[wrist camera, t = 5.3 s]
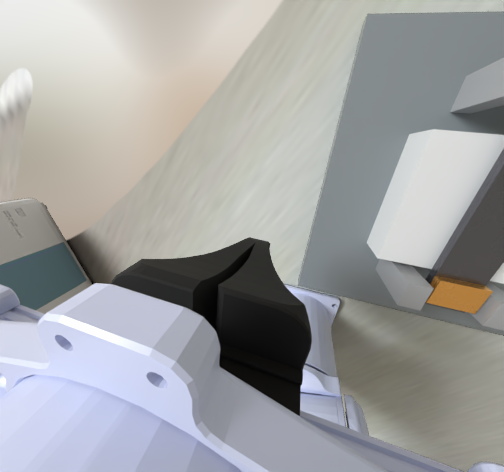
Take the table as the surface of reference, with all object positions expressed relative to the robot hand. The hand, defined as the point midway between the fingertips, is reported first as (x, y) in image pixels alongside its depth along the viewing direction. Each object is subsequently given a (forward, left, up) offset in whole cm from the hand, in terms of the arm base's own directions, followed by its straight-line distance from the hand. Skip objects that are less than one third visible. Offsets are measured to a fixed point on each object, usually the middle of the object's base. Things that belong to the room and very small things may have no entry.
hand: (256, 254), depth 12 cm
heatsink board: (+3, -14, -9) cm, 17 cm away
